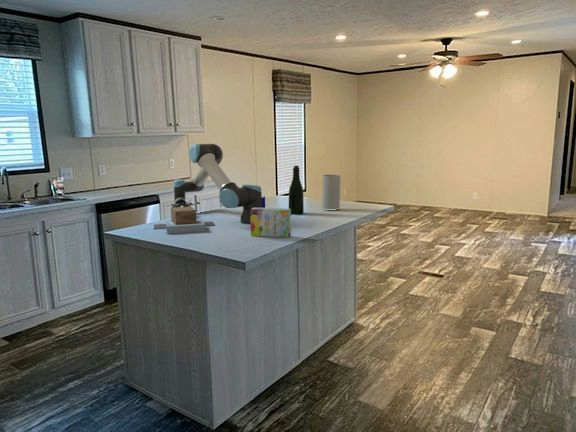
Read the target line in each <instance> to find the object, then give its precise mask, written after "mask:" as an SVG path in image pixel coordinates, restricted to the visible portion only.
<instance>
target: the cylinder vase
mask: <svg viewBox="0 0 576 432" xmlns="http://www.w3.org/2000/svg"><path fill="white" fill-rule="evenodd" d="M321 196H322V200H321V201H322V204H321V205H322V206H321V208H324V209H337V208H340V205H341V203H340V201H341V199H340V198H341V197H340V196H341V175H340V174H323V175H322V195H321Z"/></svg>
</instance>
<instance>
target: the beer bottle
mask: <svg viewBox="0 0 576 432" xmlns="http://www.w3.org/2000/svg"><path fill="white" fill-rule="evenodd" d="M304 201H305V199H304V189H303V184H302V183H301V180H300V167H299V165H294V166H293V167H292V180H291V183H290V185H289V190H288V209H291V215H293V214H299V215H302V213H303V214H304V210H305V209H304V207H305V206H304V204H305V203H304Z"/></svg>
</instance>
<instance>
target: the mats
mask: <svg viewBox="0 0 576 432" xmlns="http://www.w3.org/2000/svg"><path fill="white" fill-rule="evenodd" d="M204 223H205V227H215V226H216V225H215V223H214V221H212V220H211V221H204ZM197 224H201V223H200V221H198V222H197ZM169 225H171V224H170V223H169ZM162 229H166V223H159V224H157V223H156V224H154V225H153V230H162ZM166 230H167V229H166Z"/></svg>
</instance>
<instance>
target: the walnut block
mask: <svg viewBox="0 0 576 432" xmlns="http://www.w3.org/2000/svg"><path fill="white" fill-rule="evenodd" d="M170 219H171V220H170V221H171V223H172V222H173V223H174V224H175V225H186V224H197V210H196V209H195V208H193V207H192V206H191V207H174V208H172V207H171V208H170ZM173 223H172V224H173ZM174 224H173V225H174Z"/></svg>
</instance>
